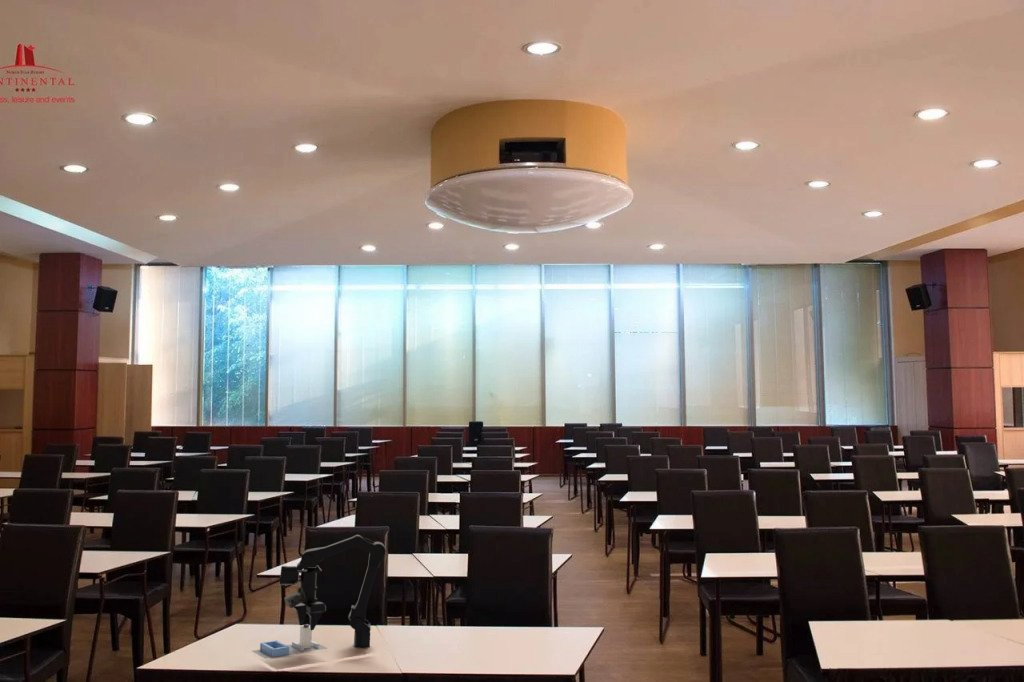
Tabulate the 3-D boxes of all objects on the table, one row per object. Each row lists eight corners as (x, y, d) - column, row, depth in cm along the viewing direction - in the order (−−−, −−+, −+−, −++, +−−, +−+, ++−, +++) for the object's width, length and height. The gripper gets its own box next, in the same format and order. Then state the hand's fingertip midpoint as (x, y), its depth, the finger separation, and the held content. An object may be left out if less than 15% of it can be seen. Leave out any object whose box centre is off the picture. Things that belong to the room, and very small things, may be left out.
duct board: (327, 650, 312) (327, 641, 313) (265, 661, 297) (265, 651, 297) (312, 643, 321) (313, 634, 322) (251, 653, 306) (252, 643, 307)
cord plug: (311, 647, 313) (312, 625, 314) (303, 648, 311) (304, 626, 312) (307, 645, 315) (308, 623, 316) (299, 646, 313) (300, 624, 314)
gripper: (277, 582, 317) (275, 625, 316) (299, 591, 303) (297, 636, 302) (304, 579, 324) (303, 621, 323) (327, 587, 310) (325, 631, 309)
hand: (306, 627), depth 314 cm, fingers open, 9 cm apart
